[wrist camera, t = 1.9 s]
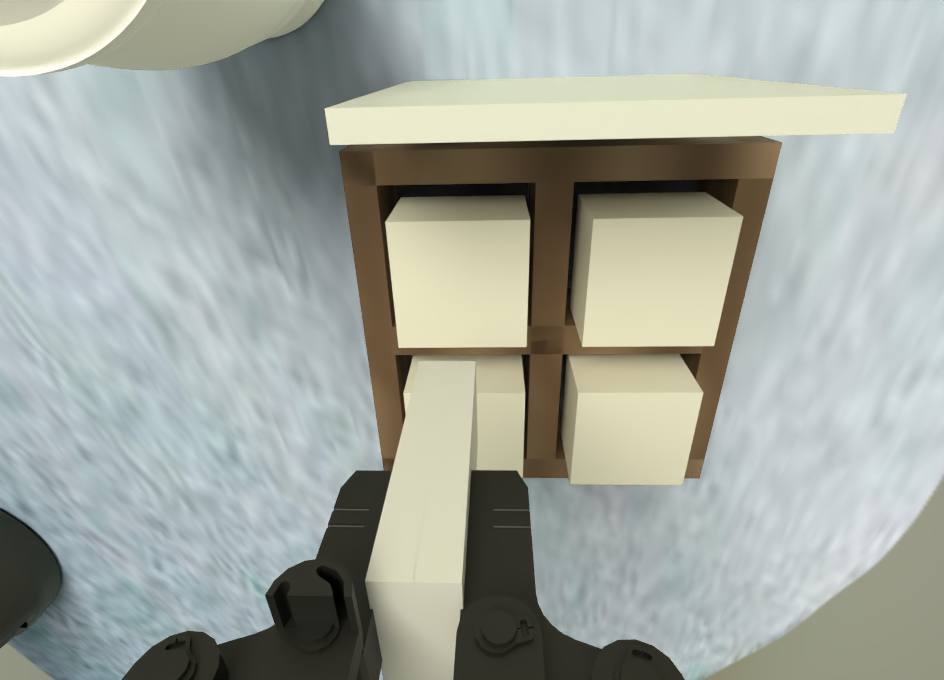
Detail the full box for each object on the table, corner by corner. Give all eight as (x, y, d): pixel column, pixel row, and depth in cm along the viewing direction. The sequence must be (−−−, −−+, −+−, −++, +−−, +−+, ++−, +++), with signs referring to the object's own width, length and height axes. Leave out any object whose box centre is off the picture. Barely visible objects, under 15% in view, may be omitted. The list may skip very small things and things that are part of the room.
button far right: (560, 434, 30) (569, 484, 26) (566, 349, 27) (578, 392, 24) (659, 434, 30) (682, 485, 26) (675, 348, 27) (703, 392, 23)
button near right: (570, 307, 26) (582, 346, 23) (578, 194, 23) (593, 219, 20) (683, 306, 26) (713, 346, 22) (705, 192, 23) (743, 216, 20)
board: (396, 429, 34) (384, 476, 30) (362, 136, 26) (339, 151, 22) (675, 429, 33) (699, 478, 30) (736, 128, 25) (781, 142, 21)
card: (410, 104, 25) (331, 154, 13) (408, 81, 24) (324, 108, 12) (688, 97, 24) (890, 142, 12) (692, 73, 24) (907, 94, 11)
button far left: (422, 433, 30) (413, 483, 27) (414, 350, 28) (403, 393, 24) (518, 434, 30) (522, 484, 26) (521, 349, 27) (525, 392, 24)
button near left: (410, 308, 26) (398, 347, 23) (400, 197, 24) (385, 222, 20) (521, 307, 26) (526, 347, 23) (524, 195, 23) (530, 219, 20)
